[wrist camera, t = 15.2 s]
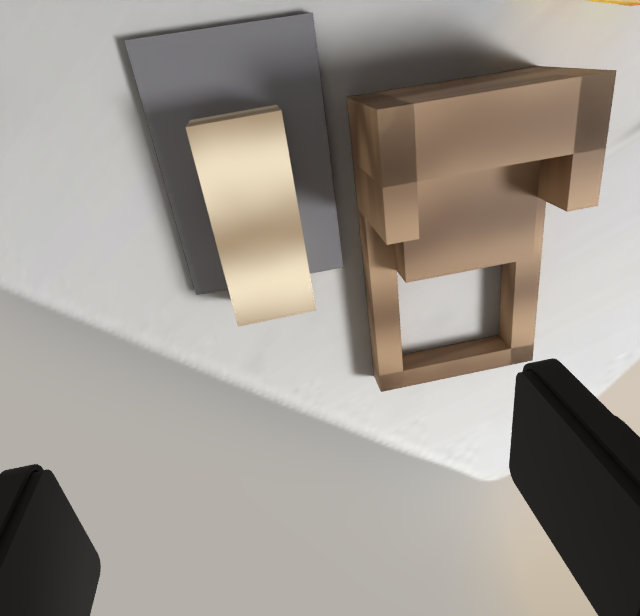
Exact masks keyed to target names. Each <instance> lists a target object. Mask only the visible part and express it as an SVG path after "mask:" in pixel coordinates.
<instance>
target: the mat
mask: <svg viewBox="0 0 640 616" xmlns="http://www.w3.org/2000/svg"><path fill="white" fill-rule="evenodd" d="M124 41H125V45H126V48H127V52H128V55H129V59H130V62H131V66H132V70H133V73H134V77H135V80H136V84H137V87H138V91H139V94H140V98H141V101H142V105H143V108H144V112H145V116H146V119H147V123H148V126H149V130H150V133H151V137H152V140H153V144H154V147H155V151H156V155H157V158H158V162H159V165H160V169H161V172H162V176H163V179H164V183H165V186H166V190H167V194H168V197H169V201H170V204H171V208H172V211H173V215H174V218H175V222H176V225H177V229H178V232H179V236H180V240H181V243H182V247H183V250H184V254H185V257H186V261H187V264H188V268H189V271H190V275H191V279H192V282H193V286H194V289H195V293H196V295H198V294H204V293H209V292H214V291H219V290H225V289H228V286H227V283H226V279H225V275H224V271H223V267H222V264H221V260H220V256H219V252H218V248H217V245H216V241H215V237H214V233H213V230H212V226H211V222H210V218H209V214H208V211H207V207H206V203H205V199H204V195H203V192H202V188H201V184H200V180H199V177H198V173H197V169H196V165H195V161H194V158H193V154H192V150H191V146H190V142H189V139H188V135H187V131H186V126H187V124H188V122H189V121H190V120H193V119H199V118H204V117H210V116H216V115H221V114H227V113H233V112H238V111H244V110H249V109H255V108H261V107H266V106H272V105H278V107H279V108H280V109H281V111H282V116H283V122H284V128H285V134H286V139H287V145H288V151H289V157H290V163H291V168H292V174H293V180H294V186H295V191H296V197H297V203H298V209H299V214H300V220H301V226H302V232H303V237H304V243H305V249H306V255H307V261H308V266H309V272H310V273H315V272H321V271H326V270H331V269H337V268H342V267H343V261H342V252H341V244H340V236H339V227H338V219H337V211H336V202H335V194H334V186H333V178H332V169H331V161H330V153H329V144H328V136H327V128H326V119H325V111H324V103H323V94H322V86H321V78H320V69H319V61H318V53H317V45H316V36H315V28H314V20H313V13H306V14H300V15H293V16H286V17H279V18H272V19H266V20H259V21H252V22H245V23H239V24H232V25H225V26H218V27H211V28H205V29H198V30H191V31H184V32H177V33H171V34H164V35H157V36H150V37H144V38H137V39H130V40H124Z"/></svg>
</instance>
